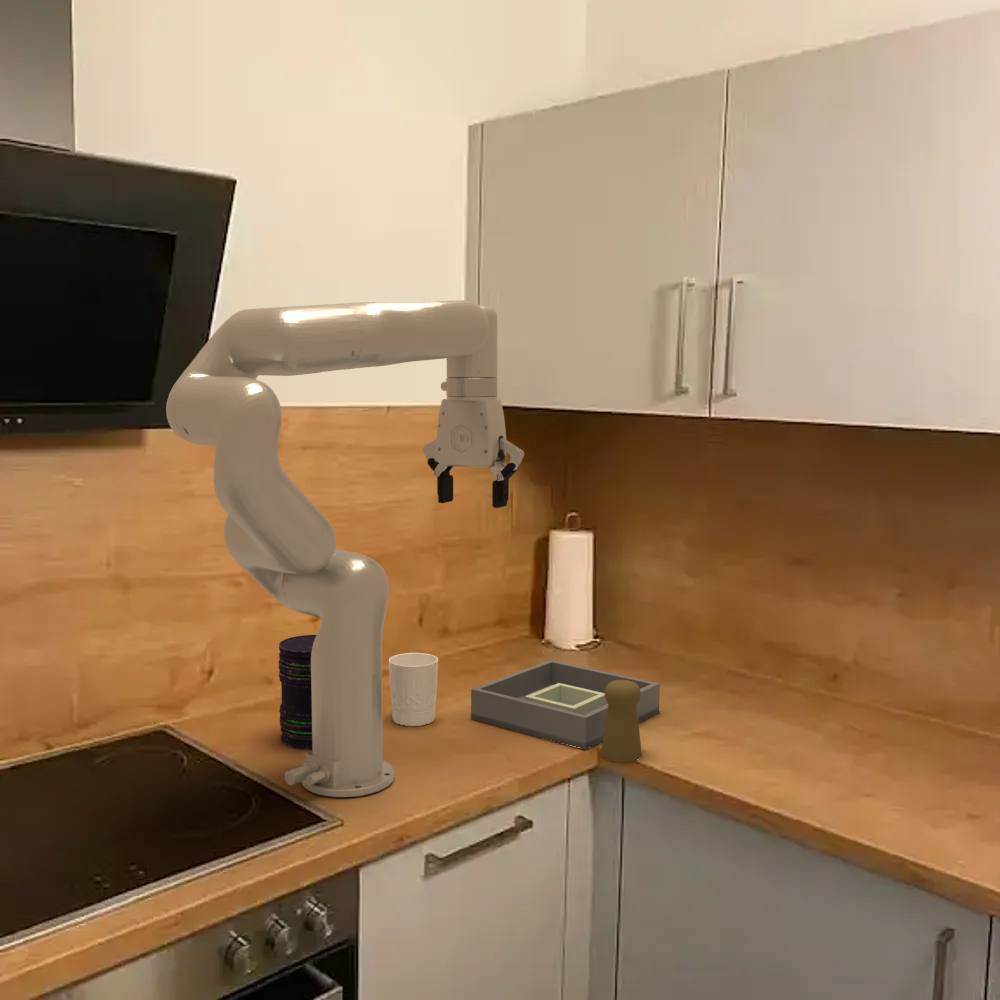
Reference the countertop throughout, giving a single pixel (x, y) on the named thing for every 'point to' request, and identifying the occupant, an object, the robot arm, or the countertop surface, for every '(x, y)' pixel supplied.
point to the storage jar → (296, 691)
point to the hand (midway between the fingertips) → (472, 504)
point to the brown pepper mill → (622, 722)
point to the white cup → (413, 688)
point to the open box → (556, 702)
